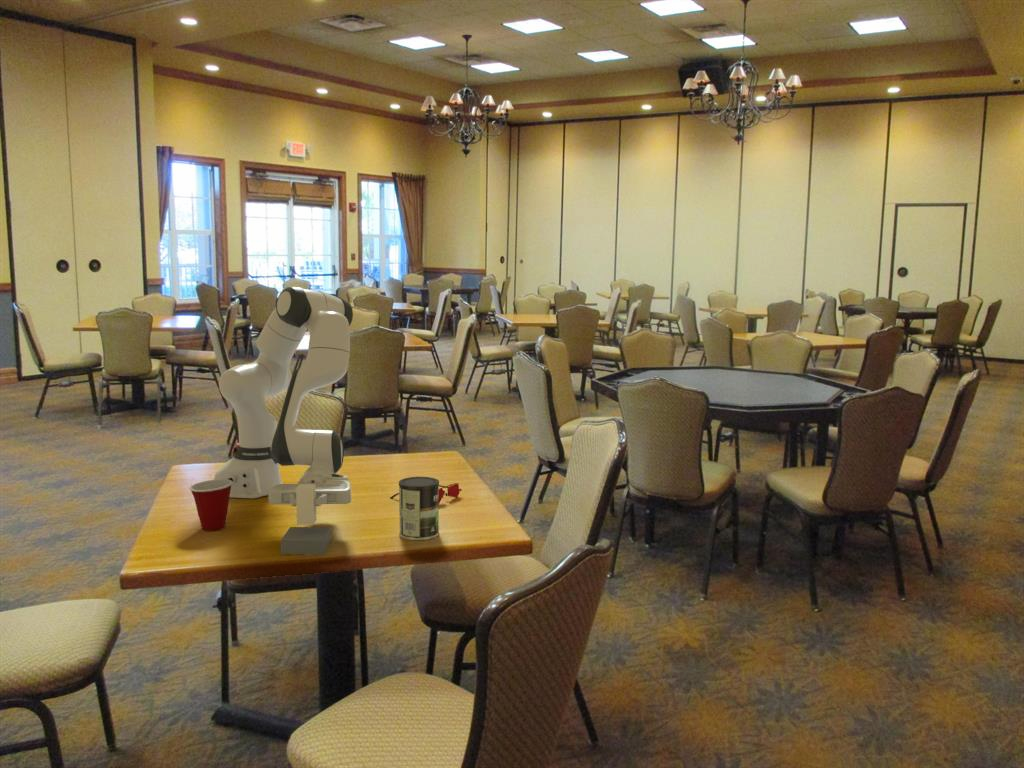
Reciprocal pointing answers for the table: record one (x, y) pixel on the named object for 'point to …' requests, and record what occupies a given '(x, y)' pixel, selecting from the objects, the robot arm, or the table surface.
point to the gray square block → (306, 540)
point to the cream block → (306, 504)
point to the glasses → (452, 491)
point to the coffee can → (419, 508)
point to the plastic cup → (212, 502)
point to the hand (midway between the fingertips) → (305, 503)
